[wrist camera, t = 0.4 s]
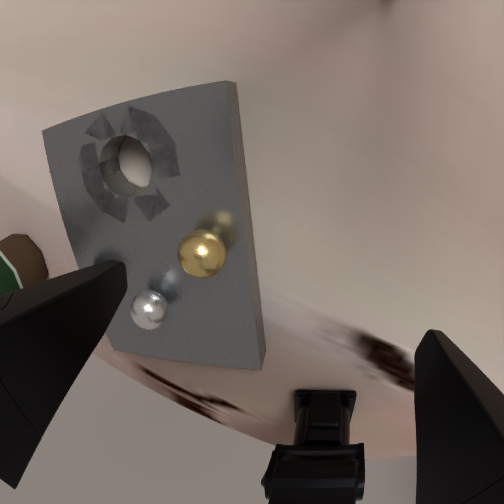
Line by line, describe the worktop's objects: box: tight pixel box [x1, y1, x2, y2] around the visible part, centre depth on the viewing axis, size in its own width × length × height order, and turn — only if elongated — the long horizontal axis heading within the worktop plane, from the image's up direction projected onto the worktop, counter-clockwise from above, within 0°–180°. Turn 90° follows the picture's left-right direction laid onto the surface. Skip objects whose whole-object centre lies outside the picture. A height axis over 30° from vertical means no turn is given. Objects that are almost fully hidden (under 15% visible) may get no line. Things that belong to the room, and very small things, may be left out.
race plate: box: [42, 81, 266, 370], centre depth 24 cm, size 23×16×2 cm
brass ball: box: [177, 229, 227, 279], centre depth 20 cm, size 3×3×3 cm
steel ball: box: [130, 290, 169, 330], centre depth 24 cm, size 3×3×3 cm
